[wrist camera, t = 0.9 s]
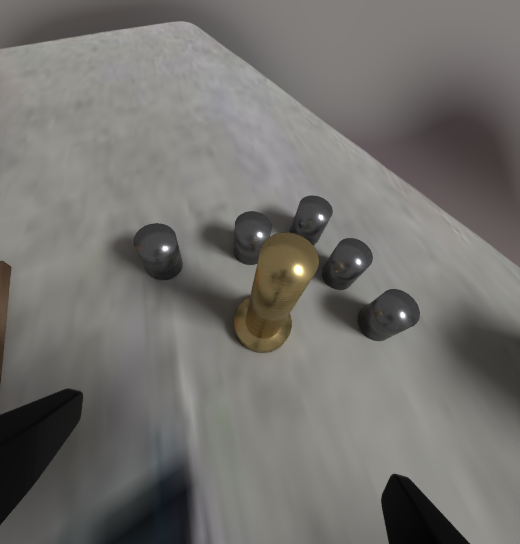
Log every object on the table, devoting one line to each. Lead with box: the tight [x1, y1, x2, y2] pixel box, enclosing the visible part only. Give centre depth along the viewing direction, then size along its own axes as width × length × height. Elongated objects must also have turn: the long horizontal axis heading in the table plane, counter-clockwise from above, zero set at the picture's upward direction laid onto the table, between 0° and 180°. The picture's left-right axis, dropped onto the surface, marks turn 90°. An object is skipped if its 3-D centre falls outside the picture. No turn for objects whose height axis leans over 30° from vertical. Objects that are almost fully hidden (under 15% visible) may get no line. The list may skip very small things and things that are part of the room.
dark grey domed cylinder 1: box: [322, 238, 373, 290], centre depth 25 cm, size 3×3×4 cm
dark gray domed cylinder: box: [233, 211, 272, 265], centre depth 25 cm, size 3×3×4 cm
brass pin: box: [234, 233, 319, 353], centre depth 18 cm, size 5×5×11 cm
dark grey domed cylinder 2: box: [358, 289, 420, 341], centre depth 22 cm, size 3×3×4 cm
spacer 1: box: [134, 223, 183, 280], centre depth 23 cm, size 3×3×4 cm
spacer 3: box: [290, 196, 333, 245], centre depth 27 cm, size 3×3×4 cm
